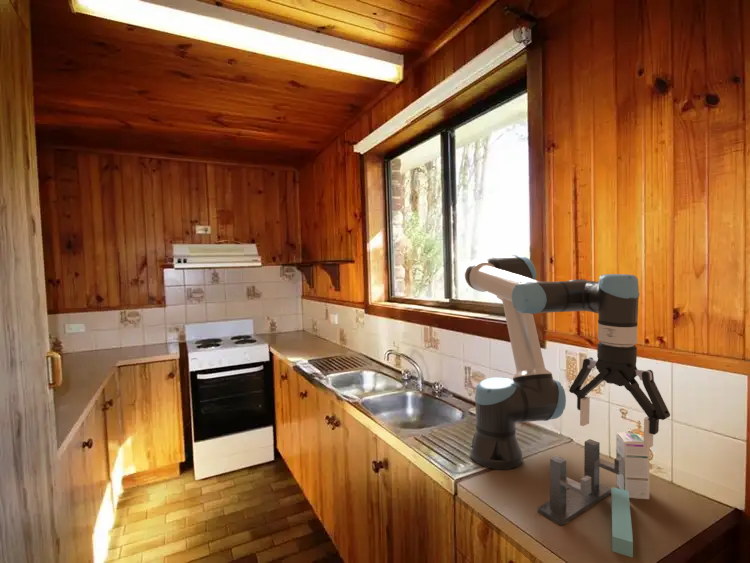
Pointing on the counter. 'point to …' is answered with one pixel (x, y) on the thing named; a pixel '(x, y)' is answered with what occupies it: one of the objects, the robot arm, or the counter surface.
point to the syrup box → (633, 465)
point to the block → (621, 523)
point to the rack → (577, 485)
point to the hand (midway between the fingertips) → (614, 435)
